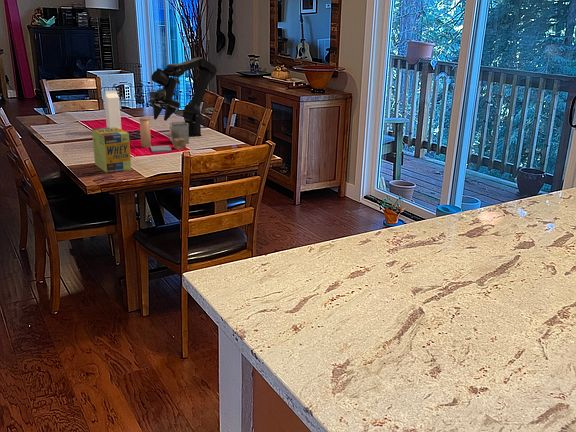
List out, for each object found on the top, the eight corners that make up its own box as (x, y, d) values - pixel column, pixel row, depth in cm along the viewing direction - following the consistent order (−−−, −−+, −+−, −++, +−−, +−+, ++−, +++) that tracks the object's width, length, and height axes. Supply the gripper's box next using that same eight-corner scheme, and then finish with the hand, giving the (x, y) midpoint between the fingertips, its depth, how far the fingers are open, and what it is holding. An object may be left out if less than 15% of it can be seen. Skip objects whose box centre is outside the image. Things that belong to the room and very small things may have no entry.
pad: (169, 146, 270) (169, 145, 269) (171, 151, 262) (171, 149, 261) (150, 147, 267) (150, 146, 266) (152, 152, 259) (152, 150, 258)
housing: (186, 139, 285) (185, 121, 281) (188, 143, 278) (188, 124, 274) (169, 140, 282) (168, 121, 279) (171, 144, 275) (171, 124, 272)
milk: (121, 133, 294) (118, 91, 287) (110, 134, 291) (106, 91, 283) (118, 131, 299) (115, 89, 291) (106, 132, 296) (103, 90, 288)
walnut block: (182, 146, 271) (181, 137, 269) (185, 148, 267) (185, 139, 266) (173, 147, 268) (172, 138, 267) (177, 149, 265) (176, 140, 263)
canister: (150, 145, 272) (149, 117, 267) (151, 147, 268) (150, 118, 263) (140, 145, 271) (138, 117, 266) (141, 147, 266) (139, 119, 262)
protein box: (107, 173, 225) (103, 135, 220) (94, 164, 237) (91, 128, 231) (132, 170, 231) (129, 133, 226) (118, 161, 243) (115, 126, 237)
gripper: (144, 83, 274) (136, 113, 273) (165, 83, 261) (156, 115, 260) (163, 91, 282) (155, 120, 281) (184, 92, 269) (175, 123, 268)
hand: (159, 119), depth 273 cm, fingers open, 9 cm apart
